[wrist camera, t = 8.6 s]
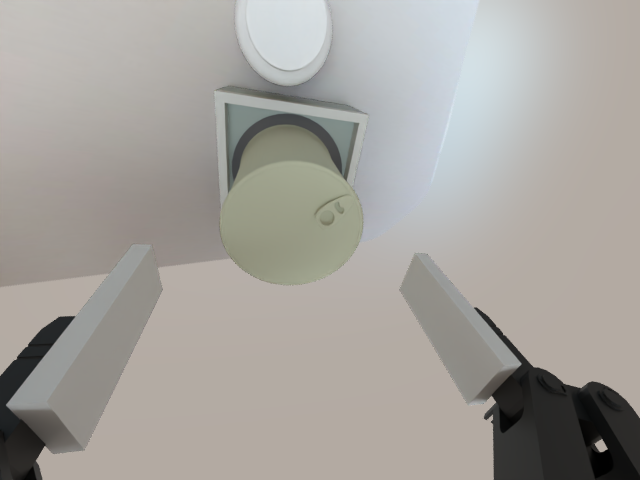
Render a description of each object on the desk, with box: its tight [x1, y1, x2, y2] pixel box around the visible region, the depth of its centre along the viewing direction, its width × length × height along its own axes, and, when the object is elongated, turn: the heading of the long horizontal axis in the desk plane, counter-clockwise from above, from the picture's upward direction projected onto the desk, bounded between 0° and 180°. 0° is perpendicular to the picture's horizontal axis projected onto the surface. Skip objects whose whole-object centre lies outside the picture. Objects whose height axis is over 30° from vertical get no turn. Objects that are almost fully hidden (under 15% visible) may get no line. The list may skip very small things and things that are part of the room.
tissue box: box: [214, 86, 369, 209], centre depth 28 cm, size 13×13×8 cm
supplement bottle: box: [234, 0, 333, 86], centre depth 20 cm, size 7×7×13 cm
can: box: [219, 124, 363, 285], centre depth 21 cm, size 9×9×12 cm
